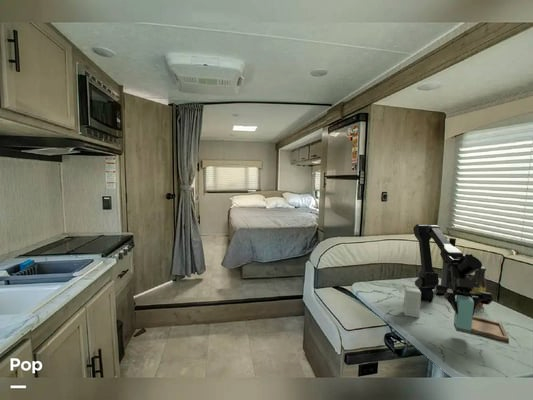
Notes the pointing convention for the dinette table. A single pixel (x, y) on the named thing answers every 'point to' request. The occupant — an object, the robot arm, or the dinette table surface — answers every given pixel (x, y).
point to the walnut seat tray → (489, 328)
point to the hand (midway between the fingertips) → (464, 315)
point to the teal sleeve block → (464, 314)
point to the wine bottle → (446, 275)
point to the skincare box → (412, 302)
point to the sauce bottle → (480, 282)
